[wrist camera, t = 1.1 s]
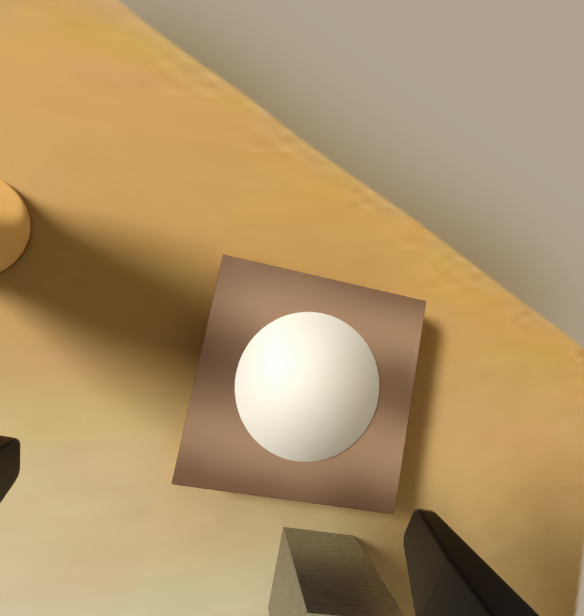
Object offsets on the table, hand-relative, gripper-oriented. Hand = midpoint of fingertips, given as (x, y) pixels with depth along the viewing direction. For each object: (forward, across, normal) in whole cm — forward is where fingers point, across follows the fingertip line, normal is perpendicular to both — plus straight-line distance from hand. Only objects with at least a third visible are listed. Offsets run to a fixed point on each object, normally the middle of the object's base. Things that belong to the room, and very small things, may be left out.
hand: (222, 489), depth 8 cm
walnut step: (+14, -3, +4) cm, 15 cm away
